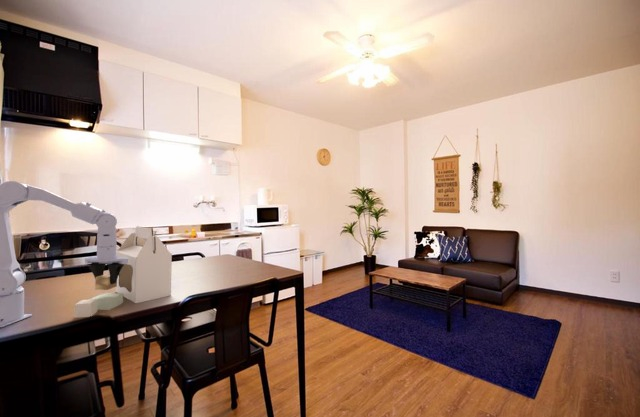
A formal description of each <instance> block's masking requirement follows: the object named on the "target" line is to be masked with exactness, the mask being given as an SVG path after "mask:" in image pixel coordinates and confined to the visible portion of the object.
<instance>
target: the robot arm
mask: <svg viewBox="0 0 640 417" xmlns="http://www.w3.org/2000/svg"><path fill="white" fill-rule="evenodd" d="M29 201H39V202H40V201H42V202H45V203H47V204H50V205H51V206H52V205H53V206H55V207H58V208H61V209H64V210H66V211H69V212H70V214H71V216H72V217H73V218H75V219H78V220H80V221H83V222H86V223H88V224H90V225H96V226H97V234H96V257H95V256H94V257H93V256H91V257H86V258H84V264H89V265H88V269H89V270H90V271H91V272H92V274H93V277H94V278H95V277H97V276H100V275H104V271H105V267H106V264H108V265H107V268H108V274H110V284H114V283H116V282H117V278H118V275H119V273H120V271H121V269H122V267H123V266H124V264H127V263H128V258H121V257H117V256H116V251H117V242H118V241H117V237H118V236H117V234H118V233H117V228H116V225H117V224H118V218H117V217H116V216H115V215H114V214H112V213H111V212H107V210H105V209H100V208H98V207H95V206H93V205H92V203H90V202H89V201H87V202H83V201H81V202H78V203H76V202H74V201H71V200H69V199H68V198H64V197H62V196H60V195H58V194H56V193H54V192H52V191H49V190H47V189H45V188H41V187H37V186H35V185H31V184H30V185H29V184H28V183H24V182H19V181H15V180H14V181H13V180H12V181H5V182H2V183H0V327H1V328H3V327H5V326H10V325H12V324H14V323H16V322H20V321H21V320H24V319H27V318H29V317H32V315H33V314H32V313H28V314H27V313H25V288H24V287H23V286H22V285H23V284H24V283H25V281H26V279H27V276H26V273H25V272H24V271H23V269H22V268H21V264H20V263H19V262H18V261H17V256H16V250H15V245H14V239H13V238H14V237H13V233H12V228H11V220H10V215H9V213H10V212H11V211H12V210H13V209H15V208H16V207H17V206H18V205H21V204H23V203H26V202H29Z"/></svg>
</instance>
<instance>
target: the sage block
mask: <svg viewBox="0 0 640 417" xmlns="http://www.w3.org/2000/svg"><path fill="white" fill-rule="evenodd" d="M90 299H98V303H97V311H110V310H113V309H115V308H116V307H118V306H120V305H122V304H124V296H123V293H117V292H103V293H101V294H99V295H96V296H93V297H91V298H90Z"/></svg>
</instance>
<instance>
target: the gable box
mask: <svg viewBox="0 0 640 417" xmlns="http://www.w3.org/2000/svg"><path fill="white" fill-rule="evenodd" d="M156 234H157V230H154V228H151V227H146V226H138V225H136V226H135V232H132V233H130V234H129V236H128V237H127V238H126V239H125V240H124V242H123V243H122V245H120V247H119V248H118V249H116V256H117V257H121V258H128V263H127V264H124V266H123V267H122V269H121V271H120V273H119V275H118V278H117V287H115V293H123V298H125V299H127V300H129V301H131V302H133V303H134V304H139V303H144V302H148V301H153V300H157V299H162V298H166V297H169V296H172V266H173V265H172V264H173V263H172V261H173V260H172V258H173V256H172V254H173V253H171V252H170V251H169V250H168V248H167V247H166V246H165V244H164V242H163V241H162V240H161V239H160V238H159V237H158V236H156ZM145 239H146V240H145Z"/></svg>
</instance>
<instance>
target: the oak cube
mask: <svg viewBox="0 0 640 417" xmlns="http://www.w3.org/2000/svg"><path fill="white" fill-rule="evenodd" d="M94 280H95V282H94V283H95V284H94V285H95V286H94V288H95V290H97V291H98V290H99V291H108V290H111V289H113V288H116V287H117V282H116V283H114V284H110V273H103V275H100V276H97V277H94Z"/></svg>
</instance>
